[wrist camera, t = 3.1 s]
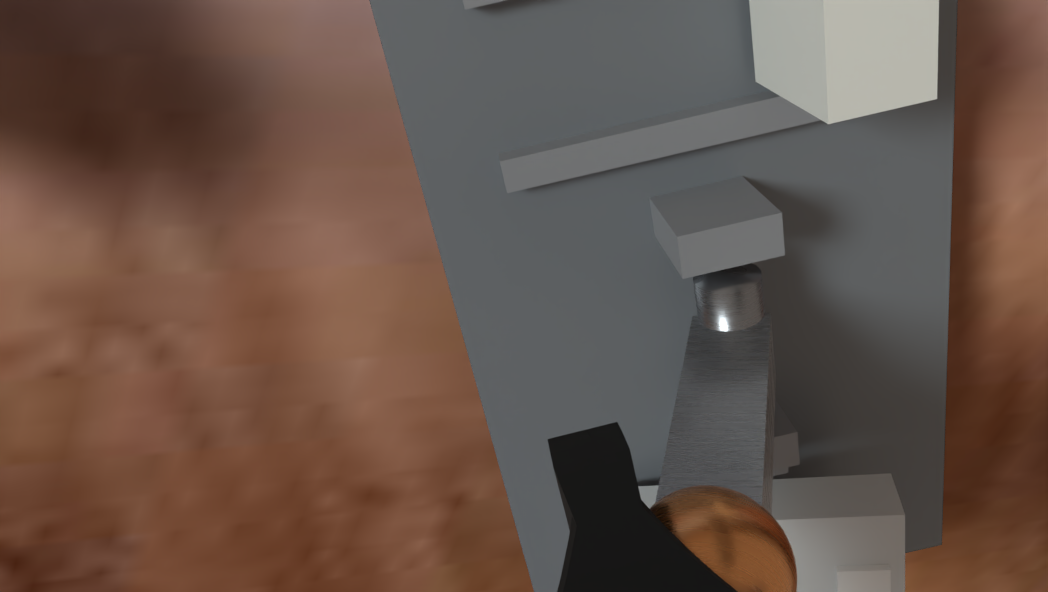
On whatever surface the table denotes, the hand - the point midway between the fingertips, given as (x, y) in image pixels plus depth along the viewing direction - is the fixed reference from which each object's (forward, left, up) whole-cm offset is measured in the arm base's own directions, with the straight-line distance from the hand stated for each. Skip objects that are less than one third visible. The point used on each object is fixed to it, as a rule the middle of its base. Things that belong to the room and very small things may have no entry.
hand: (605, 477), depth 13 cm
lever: (0, -3, -3) cm, 4 cm away
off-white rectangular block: (+5, -5, -4) cm, 8 cm away
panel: (0, -3, -7) cm, 7 cm away
